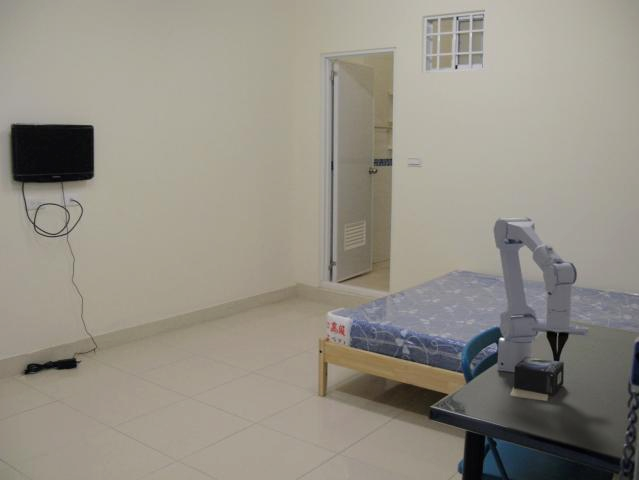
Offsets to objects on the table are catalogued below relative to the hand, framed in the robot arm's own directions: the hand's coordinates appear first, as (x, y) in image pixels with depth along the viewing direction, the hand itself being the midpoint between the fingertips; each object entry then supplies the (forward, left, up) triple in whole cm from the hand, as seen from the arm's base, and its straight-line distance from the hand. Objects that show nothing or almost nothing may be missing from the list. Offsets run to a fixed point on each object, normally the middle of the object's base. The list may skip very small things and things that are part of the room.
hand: (556, 360), depth 167 cm
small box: (+1, 0, -5) cm, 5 cm away
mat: (-6, -1, -8) cm, 10 cm away
